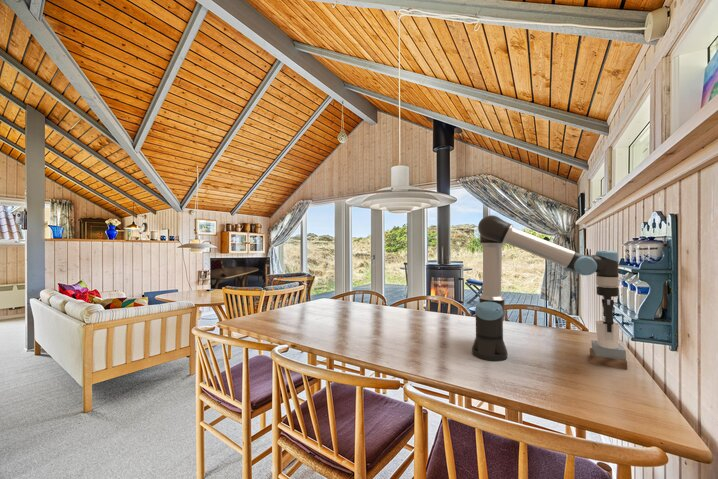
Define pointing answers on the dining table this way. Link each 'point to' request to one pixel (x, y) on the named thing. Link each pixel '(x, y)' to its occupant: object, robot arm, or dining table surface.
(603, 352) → the slate top block
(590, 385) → the dining table surface
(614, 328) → the white cup
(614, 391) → the dining table surface
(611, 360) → the walnut base block
